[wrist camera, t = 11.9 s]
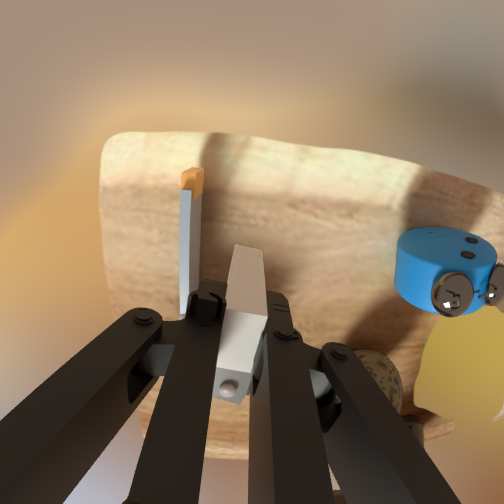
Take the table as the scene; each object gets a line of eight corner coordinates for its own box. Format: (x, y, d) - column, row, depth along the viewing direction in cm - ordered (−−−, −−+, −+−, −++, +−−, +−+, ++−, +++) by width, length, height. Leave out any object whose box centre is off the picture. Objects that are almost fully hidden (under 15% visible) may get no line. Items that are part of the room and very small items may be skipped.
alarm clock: (378, 271, 37) (431, 338, 23) (380, 228, 35) (444, 280, 21) (452, 261, 37) (513, 311, 23) (457, 221, 35) (527, 262, 21)
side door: (193, 166, 32) (178, 173, 25) (206, 167, 32) (193, 174, 25) (189, 292, 38) (177, 325, 31) (200, 294, 38) (190, 327, 31)
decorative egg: (339, 328, 41) (369, 406, 27) (395, 339, 42) (434, 406, 28) (310, 379, 44) (326, 455, 30) (364, 385, 46) (389, 452, 32)
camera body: (263, 319, 40) (265, 368, 31) (241, 359, 43) (239, 408, 34) (183, 291, 38) (165, 335, 29) (168, 334, 41) (151, 381, 32)
